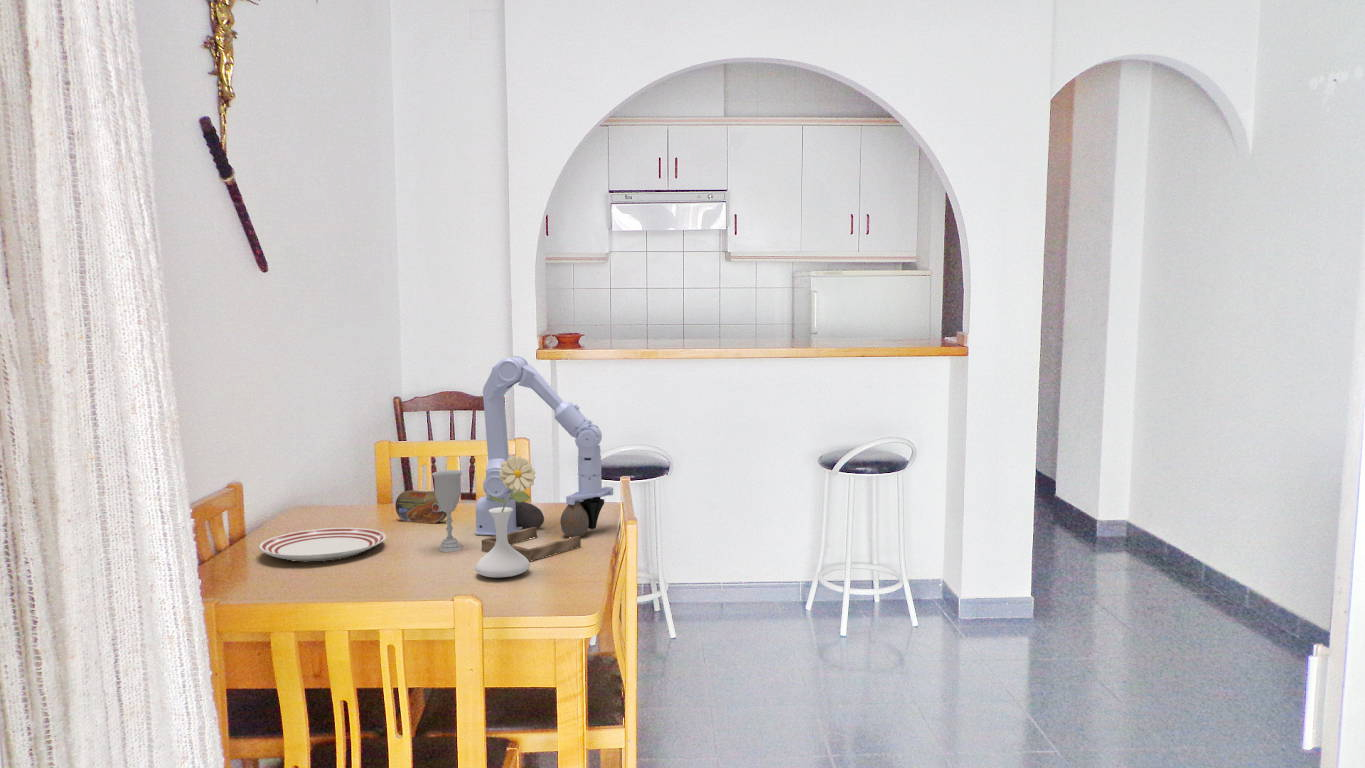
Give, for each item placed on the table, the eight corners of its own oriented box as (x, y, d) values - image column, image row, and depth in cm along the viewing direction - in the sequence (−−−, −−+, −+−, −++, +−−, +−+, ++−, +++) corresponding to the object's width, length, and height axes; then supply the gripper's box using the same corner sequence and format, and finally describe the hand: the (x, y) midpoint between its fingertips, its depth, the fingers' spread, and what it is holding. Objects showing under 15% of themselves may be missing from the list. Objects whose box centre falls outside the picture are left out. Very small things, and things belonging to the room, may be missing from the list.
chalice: (456, 553, 209) (453, 476, 208) (429, 552, 211) (426, 475, 209) (470, 545, 216) (467, 470, 215) (443, 544, 218) (440, 469, 216)
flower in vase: (477, 584, 185) (472, 462, 183) (473, 569, 196) (469, 454, 194) (541, 578, 189) (538, 458, 187) (534, 563, 200) (531, 450, 198)
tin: (395, 521, 243) (393, 490, 242) (402, 519, 246) (400, 488, 245) (445, 524, 238) (443, 492, 238) (451, 522, 241) (450, 490, 241)
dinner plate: (334, 533, 232) (334, 520, 231) (411, 546, 218) (410, 532, 217) (233, 559, 208) (233, 545, 208) (312, 576, 194) (311, 560, 194)
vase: (591, 532, 227) (590, 498, 226) (586, 539, 220) (585, 504, 219) (564, 532, 228) (563, 497, 227) (557, 539, 221) (556, 503, 220)
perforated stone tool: (550, 528, 233) (549, 501, 232) (536, 532, 228) (536, 505, 228) (505, 522, 241) (504, 496, 240) (491, 526, 236) (490, 499, 235)
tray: (529, 562, 201) (528, 551, 201) (481, 550, 212) (481, 540, 211) (580, 547, 213) (580, 536, 213) (533, 536, 224) (533, 526, 224)
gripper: (580, 480, 218) (581, 536, 219) (621, 471, 229) (622, 524, 230) (559, 477, 223) (561, 532, 224) (601, 468, 234) (602, 521, 235)
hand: (591, 528), depth 227 cm, fingers closed
